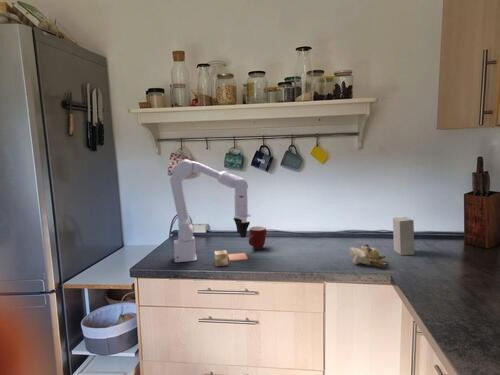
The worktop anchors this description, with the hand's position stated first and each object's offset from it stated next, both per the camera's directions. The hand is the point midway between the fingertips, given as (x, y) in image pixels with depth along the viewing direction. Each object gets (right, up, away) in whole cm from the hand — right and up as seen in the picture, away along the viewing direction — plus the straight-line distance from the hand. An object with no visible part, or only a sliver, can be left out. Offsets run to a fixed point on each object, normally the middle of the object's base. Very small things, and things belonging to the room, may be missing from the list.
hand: (241, 235), depth 161 cm
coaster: (-2, -10, -1) cm, 10 cm away
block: (-8, -11, -8) cm, 16 cm away
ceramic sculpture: (+53, -11, -12) cm, 55 cm away
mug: (+7, -9, +11) cm, 16 cm away
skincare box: (+73, -8, +2) cm, 74 cm away
